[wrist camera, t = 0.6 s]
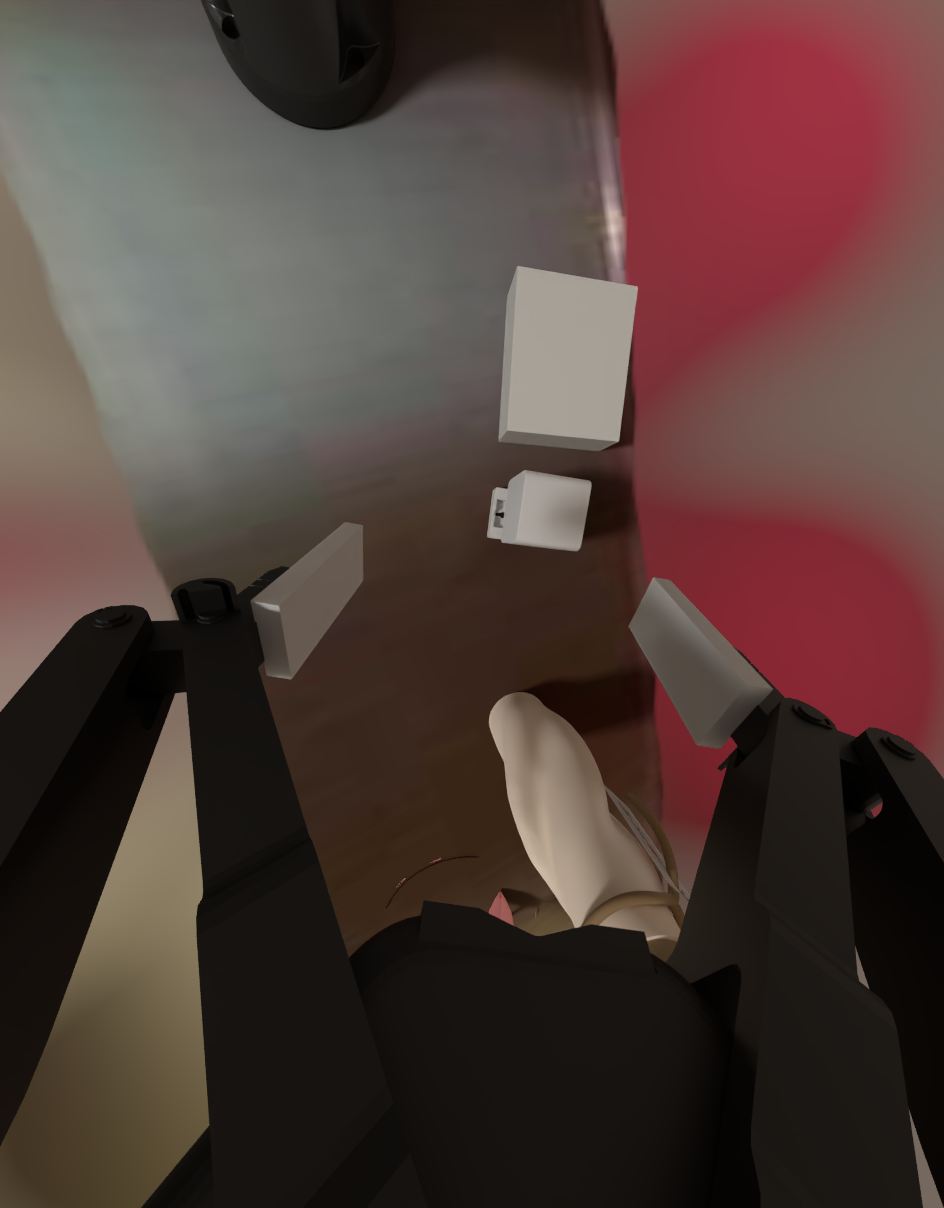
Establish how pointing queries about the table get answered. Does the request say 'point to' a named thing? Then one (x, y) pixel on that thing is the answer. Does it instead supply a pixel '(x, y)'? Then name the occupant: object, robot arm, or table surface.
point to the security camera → (540, 511)
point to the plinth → (565, 360)
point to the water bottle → (583, 828)
